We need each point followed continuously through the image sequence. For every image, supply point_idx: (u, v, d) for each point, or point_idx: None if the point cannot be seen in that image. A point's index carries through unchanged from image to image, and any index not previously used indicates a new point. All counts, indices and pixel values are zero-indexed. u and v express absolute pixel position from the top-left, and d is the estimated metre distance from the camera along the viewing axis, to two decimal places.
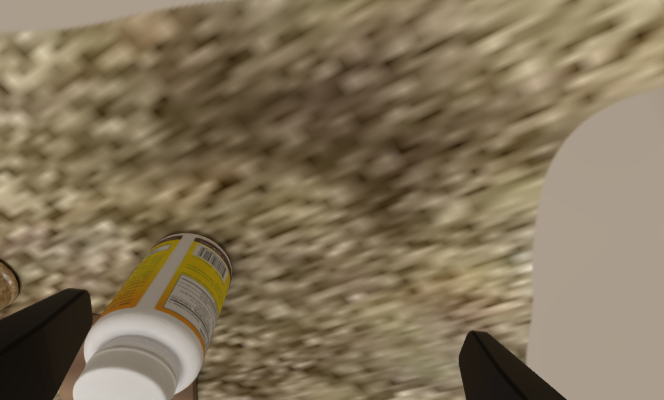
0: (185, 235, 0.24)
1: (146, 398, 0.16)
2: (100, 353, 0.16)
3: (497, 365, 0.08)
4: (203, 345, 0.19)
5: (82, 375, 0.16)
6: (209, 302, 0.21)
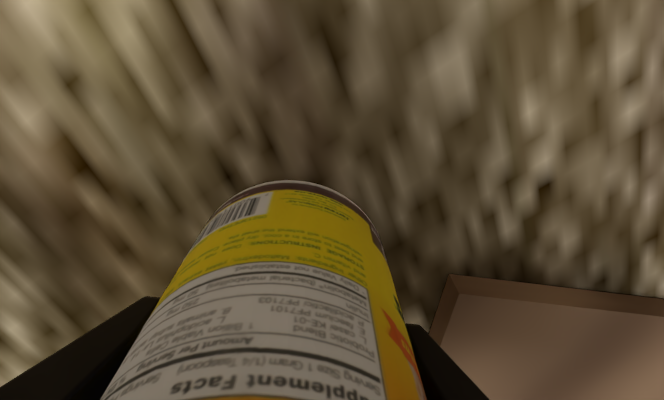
0: None
1: None
2: None
3: (419, 357, 0.08)
4: None
5: None
6: (207, 289, 0.06)
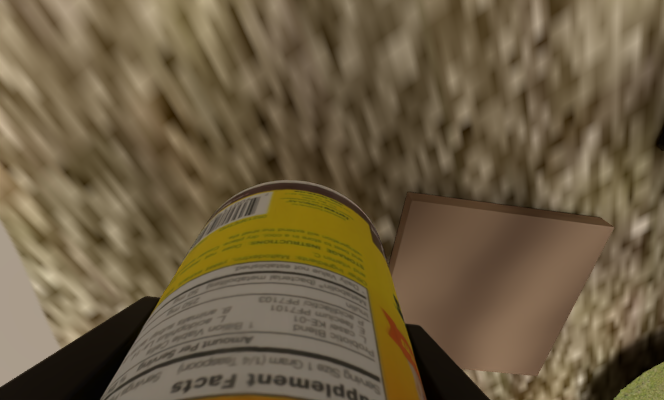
0: None
1: None
2: None
3: (419, 358, 0.08)
4: None
5: None
6: (208, 288, 0.06)
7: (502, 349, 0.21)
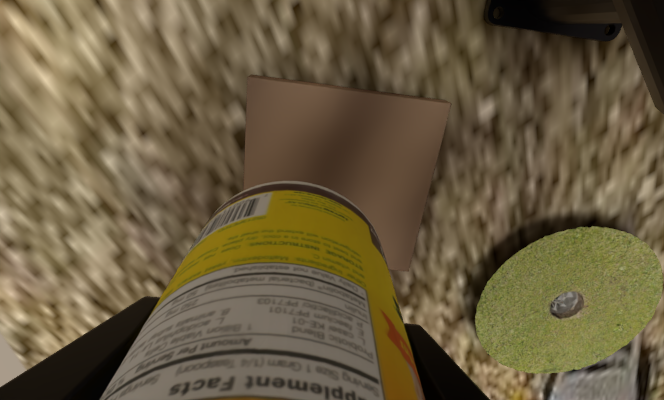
0: None
1: None
2: None
3: (419, 357, 0.08)
4: None
5: None
6: (206, 290, 0.06)
7: None
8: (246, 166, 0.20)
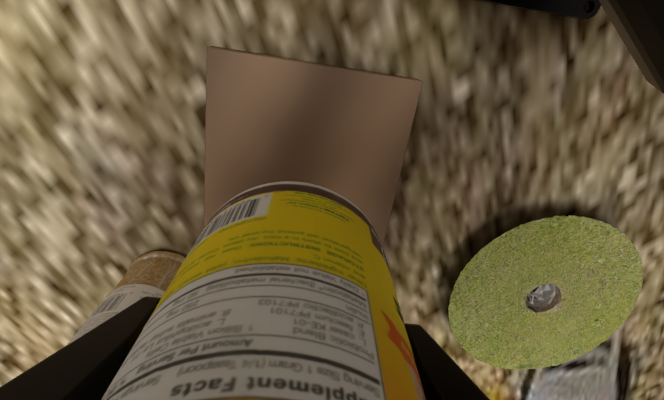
0: None
1: None
2: None
3: (419, 357, 0.08)
4: None
5: None
6: (207, 291, 0.06)
7: None
8: (207, 144, 0.19)
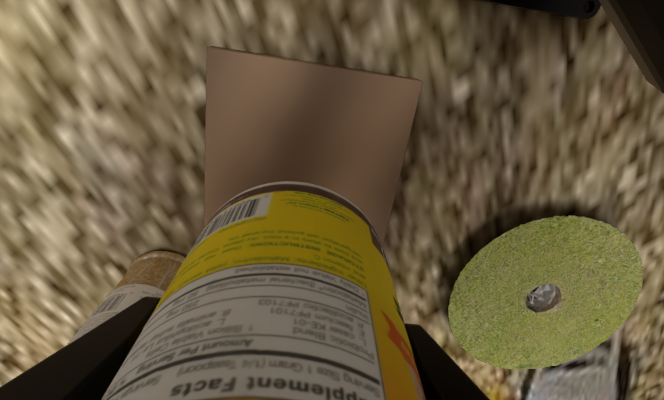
0: None
1: None
2: None
3: (419, 357, 0.08)
4: None
5: None
6: (207, 291, 0.06)
7: None
8: (207, 144, 0.19)
